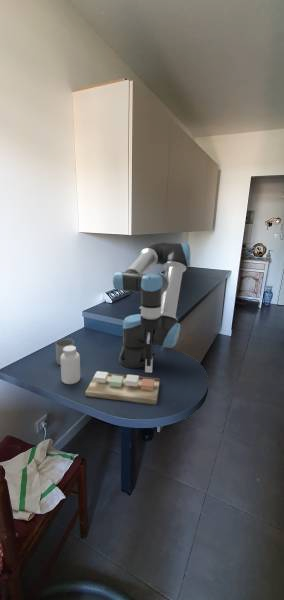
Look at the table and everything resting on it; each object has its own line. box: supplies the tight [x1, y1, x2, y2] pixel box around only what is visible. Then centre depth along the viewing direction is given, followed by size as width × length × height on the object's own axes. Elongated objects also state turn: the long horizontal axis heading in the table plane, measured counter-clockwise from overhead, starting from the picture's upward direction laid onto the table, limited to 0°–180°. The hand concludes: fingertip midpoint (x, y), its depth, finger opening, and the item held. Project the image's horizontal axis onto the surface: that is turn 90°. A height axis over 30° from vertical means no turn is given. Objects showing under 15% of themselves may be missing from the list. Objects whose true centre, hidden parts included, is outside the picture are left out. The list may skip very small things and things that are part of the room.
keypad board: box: [84, 372, 161, 405], centre depth 113 cm, size 14×28×3 cm, turn 82°
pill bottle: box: [60, 345, 81, 385], centre depth 117 cm, size 8×8×15 cm
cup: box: [55, 338, 75, 366], centre depth 133 cm, size 8×8×10 cm
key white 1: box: [92, 370, 109, 383], centre depth 113 cm, size 5×5×2 cm
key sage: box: [109, 375, 123, 387], centre depth 113 cm, size 5×5×2 cm
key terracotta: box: [141, 379, 154, 391], centre depth 111 cm, size 5×5×2 cm
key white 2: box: [125, 374, 140, 386], centre depth 111 cm, size 5×5×2 cm
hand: (148, 371), depth 110 cm, fingers closed
